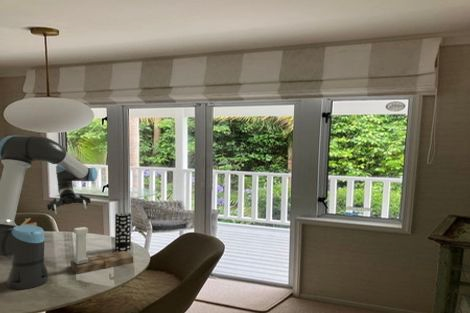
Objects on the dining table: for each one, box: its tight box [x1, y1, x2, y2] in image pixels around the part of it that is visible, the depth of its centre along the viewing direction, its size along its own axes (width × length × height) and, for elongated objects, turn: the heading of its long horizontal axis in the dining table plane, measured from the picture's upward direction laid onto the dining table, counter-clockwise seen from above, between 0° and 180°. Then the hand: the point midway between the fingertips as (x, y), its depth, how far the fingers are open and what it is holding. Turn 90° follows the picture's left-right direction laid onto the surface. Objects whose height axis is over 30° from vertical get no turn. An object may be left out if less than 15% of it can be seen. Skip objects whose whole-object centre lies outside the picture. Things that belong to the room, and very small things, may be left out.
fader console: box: [70, 251, 134, 275], centre depth 169 cm, size 26×12×3 cm, turn 129°
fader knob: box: [73, 226, 89, 264], centre depth 163 cm, size 5×6×16 cm
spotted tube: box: [114, 212, 132, 253], centre depth 194 cm, size 8×8×20 cm
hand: (70, 208), depth 173 cm, fingers open, 13 cm apart
